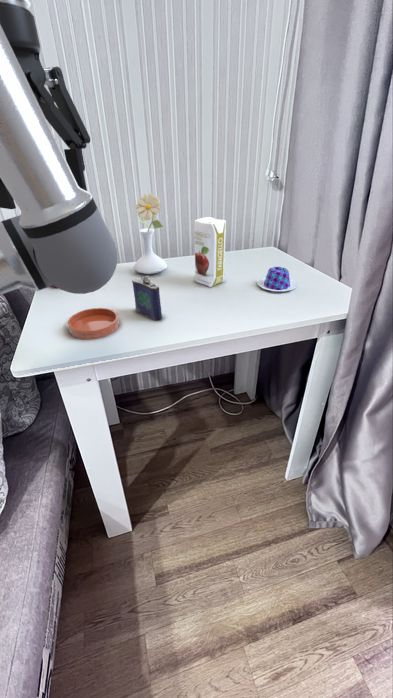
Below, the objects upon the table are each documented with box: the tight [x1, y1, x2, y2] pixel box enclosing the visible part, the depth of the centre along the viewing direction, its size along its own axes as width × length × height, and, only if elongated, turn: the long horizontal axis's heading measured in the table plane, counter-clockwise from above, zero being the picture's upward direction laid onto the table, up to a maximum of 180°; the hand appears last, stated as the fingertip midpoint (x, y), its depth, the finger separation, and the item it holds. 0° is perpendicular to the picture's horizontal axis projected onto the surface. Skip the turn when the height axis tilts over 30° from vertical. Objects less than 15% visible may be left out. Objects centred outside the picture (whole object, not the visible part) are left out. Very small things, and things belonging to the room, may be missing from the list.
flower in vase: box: [133, 193, 168, 275], centre depth 105 cm, size 13×11×25 cm
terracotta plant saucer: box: [67, 307, 120, 340], centre depth 80 cm, size 12×12×2 cm
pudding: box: [256, 266, 297, 292], centre depth 99 cm, size 12×12×5 cm
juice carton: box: [193, 216, 227, 288], centre depth 99 cm, size 8×9×19 cm
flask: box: [131, 274, 163, 322], centre depth 83 cm, size 9×3×11 cm, turn 48°
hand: (47, 200), depth 50 cm, fingers open, 13 cm apart
